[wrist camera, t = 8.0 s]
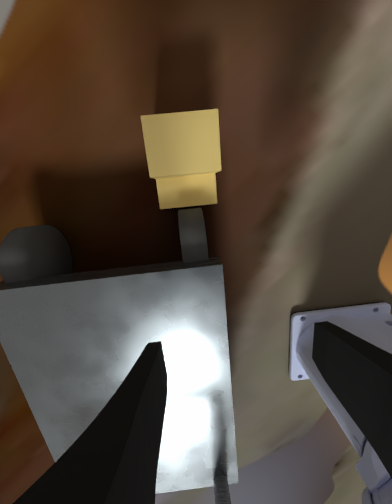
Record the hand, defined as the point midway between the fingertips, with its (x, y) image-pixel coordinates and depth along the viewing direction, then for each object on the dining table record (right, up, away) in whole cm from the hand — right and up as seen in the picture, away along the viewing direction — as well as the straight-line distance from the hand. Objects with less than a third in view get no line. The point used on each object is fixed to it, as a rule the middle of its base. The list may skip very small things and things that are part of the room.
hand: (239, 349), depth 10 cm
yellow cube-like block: (-3, +11, +6) cm, 13 cm away
